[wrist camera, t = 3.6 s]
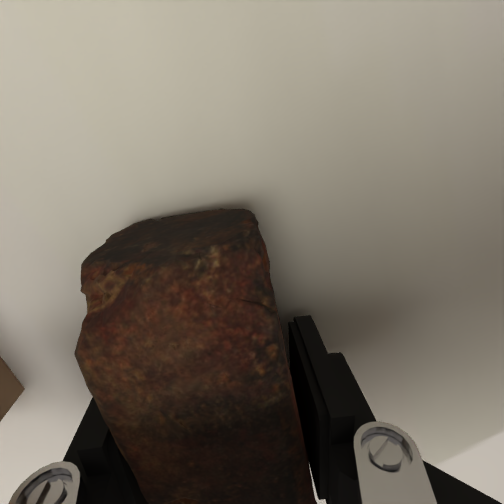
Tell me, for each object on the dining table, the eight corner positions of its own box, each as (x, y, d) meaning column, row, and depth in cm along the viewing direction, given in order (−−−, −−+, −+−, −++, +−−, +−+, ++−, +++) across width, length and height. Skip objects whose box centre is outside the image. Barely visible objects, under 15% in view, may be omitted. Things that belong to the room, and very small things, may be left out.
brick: (302, 442, 13) (339, 596, 9) (208, 462, 13) (200, 625, 9) (252, 191, 9) (274, 253, 5) (117, 221, 9) (24, 307, 5)
